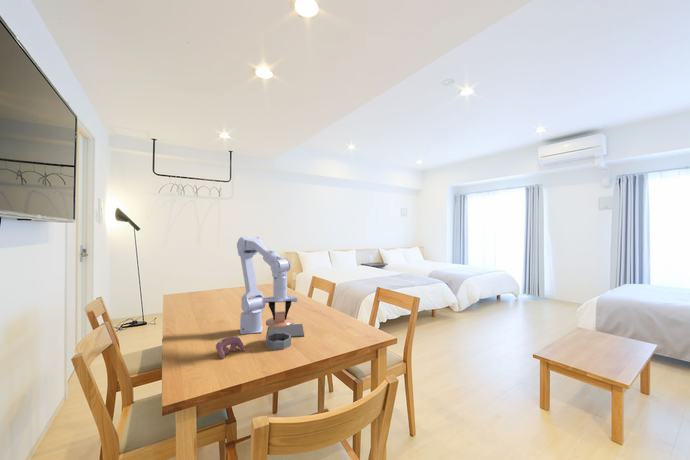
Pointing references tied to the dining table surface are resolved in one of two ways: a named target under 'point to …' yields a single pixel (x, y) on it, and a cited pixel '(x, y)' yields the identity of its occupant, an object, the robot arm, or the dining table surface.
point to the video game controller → (229, 341)
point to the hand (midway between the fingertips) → (279, 319)
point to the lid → (279, 320)
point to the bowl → (278, 341)
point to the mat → (289, 330)
